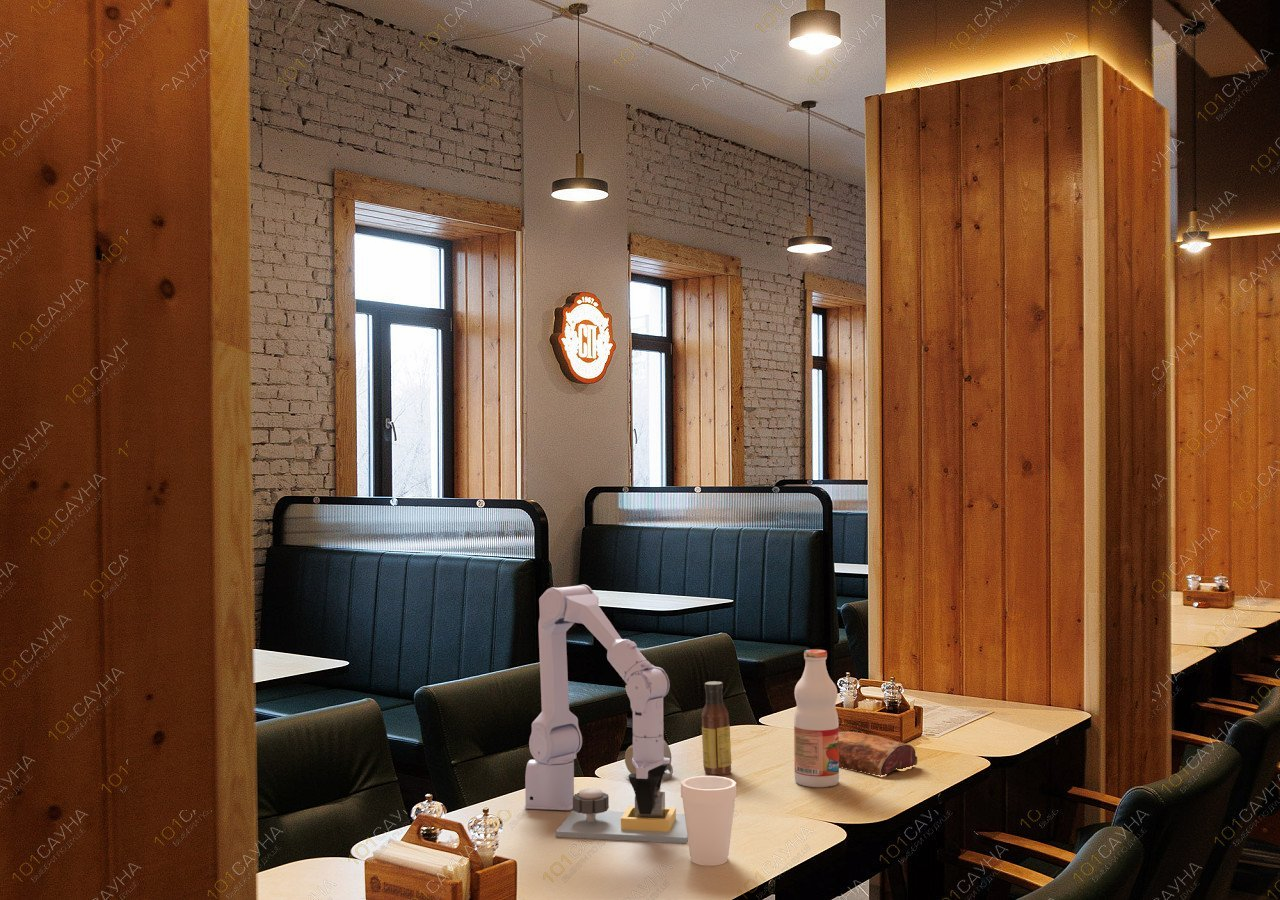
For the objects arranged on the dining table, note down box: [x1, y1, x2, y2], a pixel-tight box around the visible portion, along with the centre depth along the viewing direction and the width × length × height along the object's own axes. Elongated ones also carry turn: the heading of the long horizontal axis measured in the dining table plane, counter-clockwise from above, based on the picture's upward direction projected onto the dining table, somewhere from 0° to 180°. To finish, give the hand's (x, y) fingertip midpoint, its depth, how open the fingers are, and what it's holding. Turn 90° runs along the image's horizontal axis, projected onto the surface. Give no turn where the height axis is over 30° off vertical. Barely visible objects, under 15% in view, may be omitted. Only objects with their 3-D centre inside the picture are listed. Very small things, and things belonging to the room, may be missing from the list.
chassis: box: [555, 805, 688, 844], centre depth 214 cm, size 24×14×3 cm, turn 80°
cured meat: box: [838, 730, 918, 776], centre depth 265 cm, size 18×25×7 cm
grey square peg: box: [634, 786, 666, 819], centre depth 214 cm, size 5×4×6 cm
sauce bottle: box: [700, 680, 733, 776], centre depth 255 cm, size 7×6×20 cm
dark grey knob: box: [572, 788, 610, 814], centre depth 216 cm, size 6×6×3 cm
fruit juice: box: [793, 649, 840, 788], centre depth 246 cm, size 9×9×28 cm
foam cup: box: [680, 775, 738, 867], centre depth 197 cm, size 10×9×13 cm
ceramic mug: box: [624, 740, 674, 781], centre depth 253 cm, size 11×8×8 cm
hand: (648, 808), depth 214 cm, fingers open, 6 cm apart
